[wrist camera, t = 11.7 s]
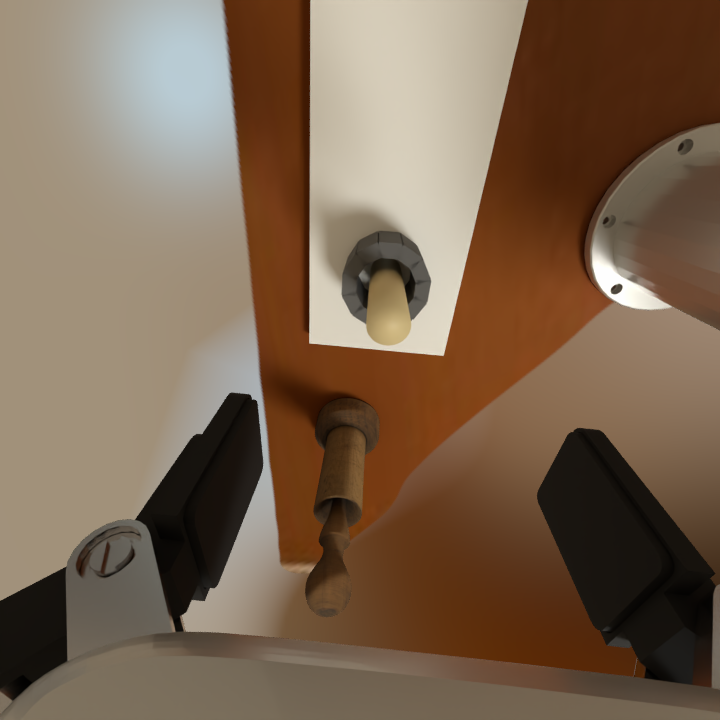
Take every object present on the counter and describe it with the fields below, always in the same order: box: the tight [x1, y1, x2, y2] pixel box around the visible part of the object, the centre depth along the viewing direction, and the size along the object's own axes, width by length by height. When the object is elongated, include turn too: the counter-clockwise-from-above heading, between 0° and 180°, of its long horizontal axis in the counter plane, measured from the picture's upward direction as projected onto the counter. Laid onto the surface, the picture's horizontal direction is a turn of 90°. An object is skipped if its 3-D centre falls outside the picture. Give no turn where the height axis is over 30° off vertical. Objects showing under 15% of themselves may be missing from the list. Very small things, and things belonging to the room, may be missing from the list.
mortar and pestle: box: [305, 398, 379, 617], centre depth 29 cm, size 7×6×18 cm
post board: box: [309, 0, 528, 356], centre depth 20 cm, size 12×24×12 cm, turn 175°
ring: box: [341, 231, 431, 324], centre depth 25 cm, size 6×6×4 cm
